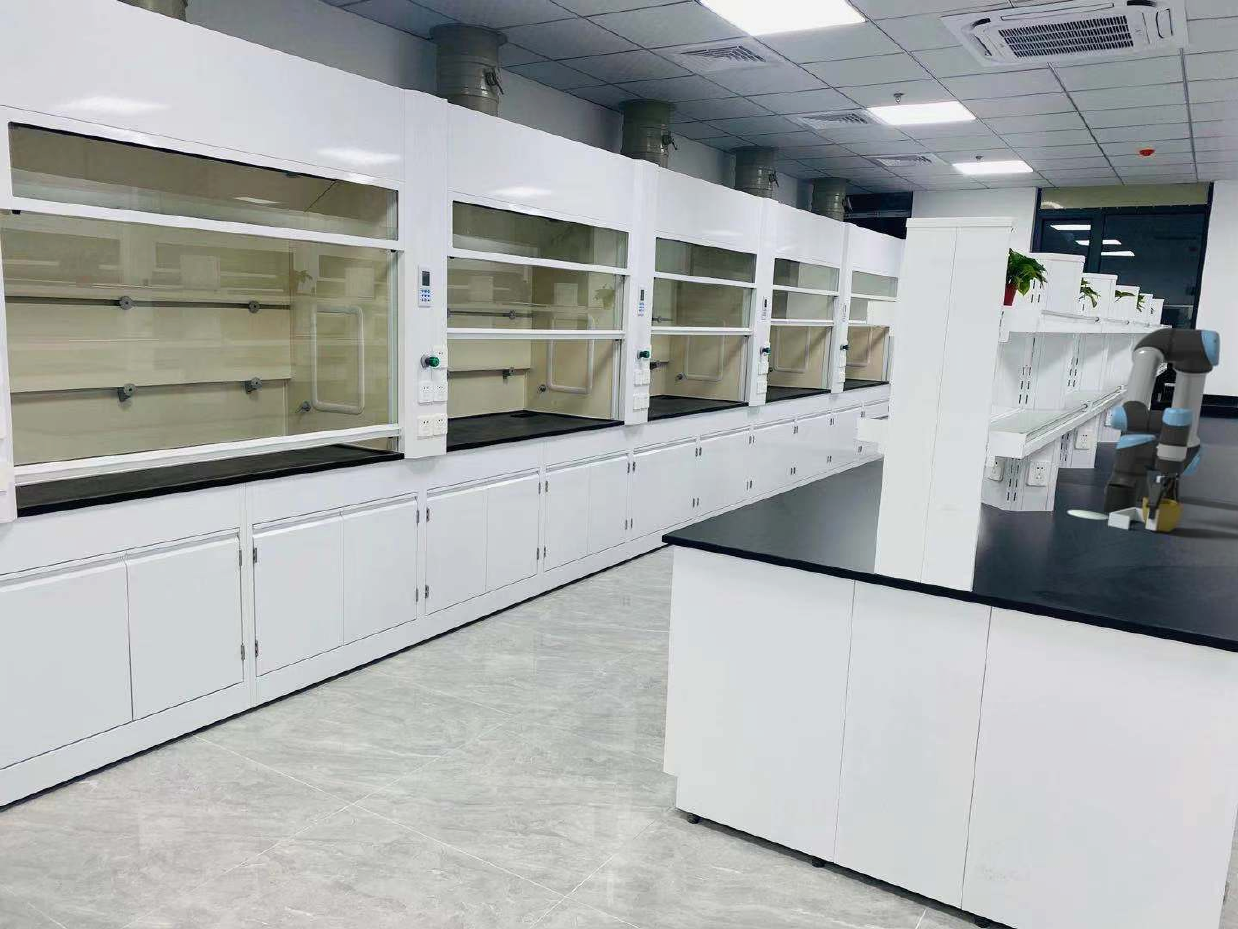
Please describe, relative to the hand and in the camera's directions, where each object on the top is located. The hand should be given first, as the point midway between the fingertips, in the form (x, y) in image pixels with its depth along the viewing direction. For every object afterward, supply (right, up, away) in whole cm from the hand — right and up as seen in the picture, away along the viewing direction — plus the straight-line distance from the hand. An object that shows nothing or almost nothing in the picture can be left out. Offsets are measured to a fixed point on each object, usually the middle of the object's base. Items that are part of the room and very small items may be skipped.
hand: (1158, 527), depth 277 cm
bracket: (-6, +1, +6) cm, 8 cm away
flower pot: (0, -1, 0) cm, 1 cm away
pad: (-14, +3, +16) cm, 21 cm away
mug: (+1, +3, +24) cm, 24 cm away
